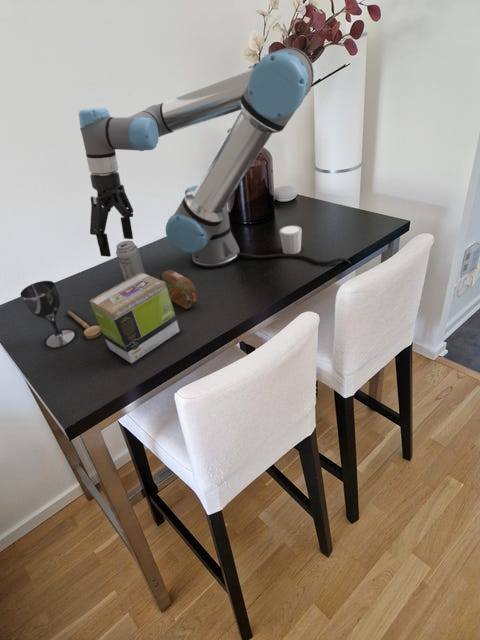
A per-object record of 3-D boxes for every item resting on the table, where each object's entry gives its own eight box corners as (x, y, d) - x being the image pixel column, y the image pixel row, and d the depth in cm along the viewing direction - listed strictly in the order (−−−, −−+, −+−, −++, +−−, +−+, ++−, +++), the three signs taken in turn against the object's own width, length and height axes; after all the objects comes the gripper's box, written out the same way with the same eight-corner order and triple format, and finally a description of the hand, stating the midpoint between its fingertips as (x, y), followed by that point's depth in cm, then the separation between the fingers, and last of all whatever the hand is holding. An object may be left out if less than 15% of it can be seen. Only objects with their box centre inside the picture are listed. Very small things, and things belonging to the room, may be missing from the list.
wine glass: (59, 327, 115) (36, 279, 107) (82, 331, 112) (61, 281, 104) (38, 346, 109) (13, 296, 101) (62, 350, 106) (38, 299, 98)
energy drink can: (153, 289, 126) (140, 242, 117) (136, 298, 123) (122, 251, 114) (141, 283, 130) (127, 238, 121) (125, 292, 126) (109, 246, 118)
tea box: (156, 319, 112) (142, 270, 104) (180, 332, 106) (167, 281, 98) (107, 349, 104) (87, 298, 96) (130, 365, 98) (111, 312, 89)
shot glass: (301, 255, 131) (300, 233, 127) (279, 255, 133) (277, 234, 129) (303, 245, 137) (302, 224, 133) (282, 245, 138) (280, 225, 135)
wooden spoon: (62, 317, 119) (60, 313, 119) (76, 310, 122) (75, 306, 121) (89, 341, 108) (88, 337, 107) (105, 332, 110) (103, 329, 110)
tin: (162, 294, 122) (155, 269, 118) (171, 290, 124) (165, 264, 119) (192, 313, 112) (186, 286, 108) (202, 308, 114) (196, 281, 109)
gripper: (114, 161, 126) (126, 231, 137) (64, 183, 105) (82, 262, 116) (137, 162, 124) (147, 232, 135) (91, 184, 104) (107, 265, 115)
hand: (117, 246), depth 126 cm, fingers open, 13 cm apart
